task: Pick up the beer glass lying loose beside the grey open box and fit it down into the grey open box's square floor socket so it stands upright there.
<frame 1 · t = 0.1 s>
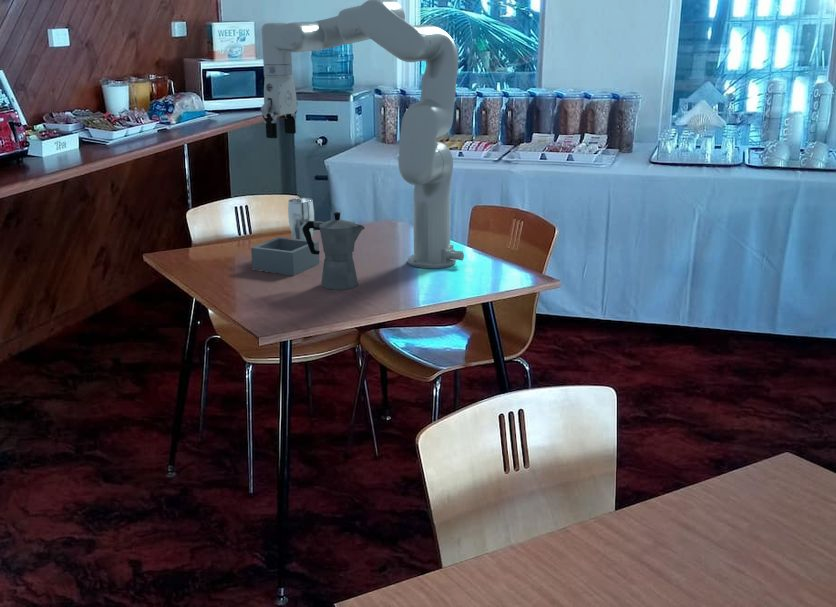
hand: (281, 135, 250), 31 cm above the table, fingers open, 9 cm apart
coffeepot: (335, 285, 223), on the table
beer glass: (303, 254, 251), on the table
grey open box: (286, 267, 238), on the table
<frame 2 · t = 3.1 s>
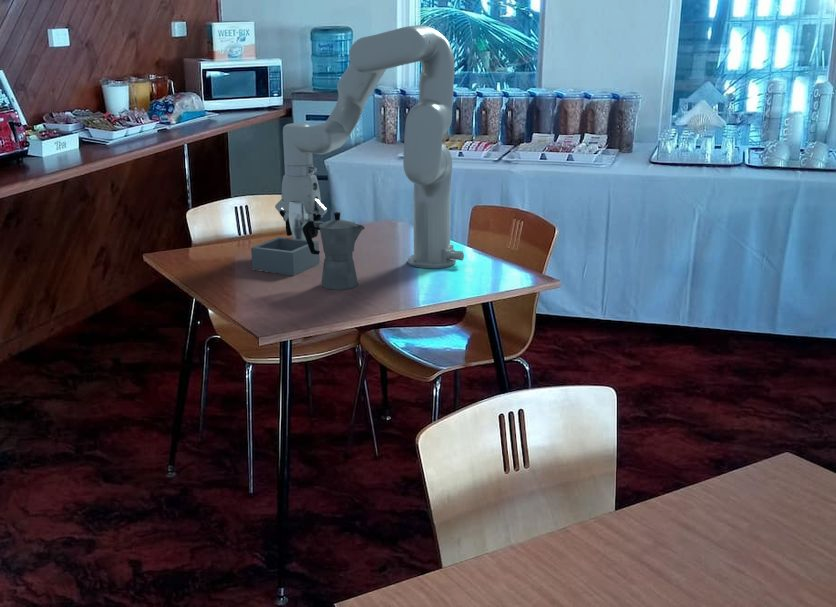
hand: (302, 235, 249), 5 cm above the table, fingers closed on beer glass, 6 cm apart
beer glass: (303, 254, 251), on the table, touching gripper
everything else where it was.
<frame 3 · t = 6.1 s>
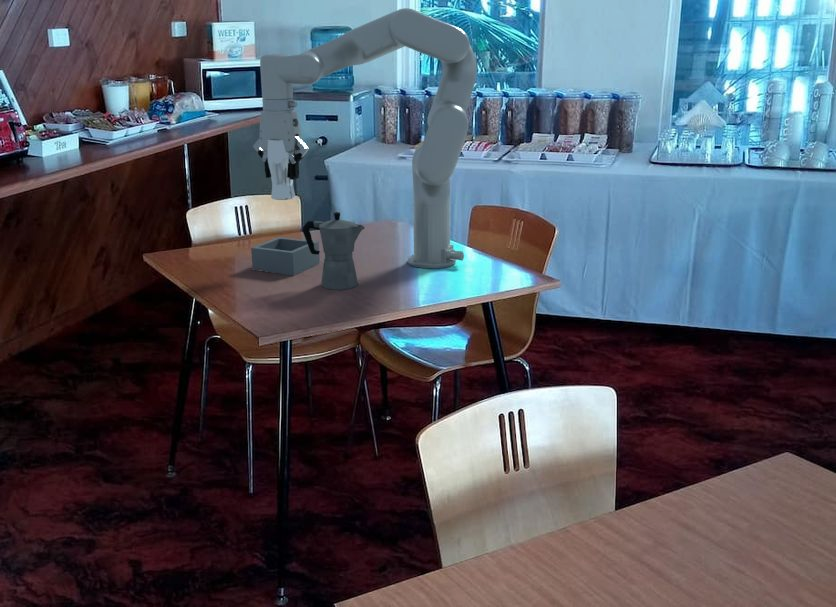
hand: (282, 177, 231), 24 cm above the table, fingers closed on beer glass, 6 cm apart
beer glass: (283, 198, 233), point 18 cm above the table, touching gripper
everything else where it was.
when the fingers open (9 cm above the table, at t = 9.5 s): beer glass drops 2 cm, resting on grey open box.
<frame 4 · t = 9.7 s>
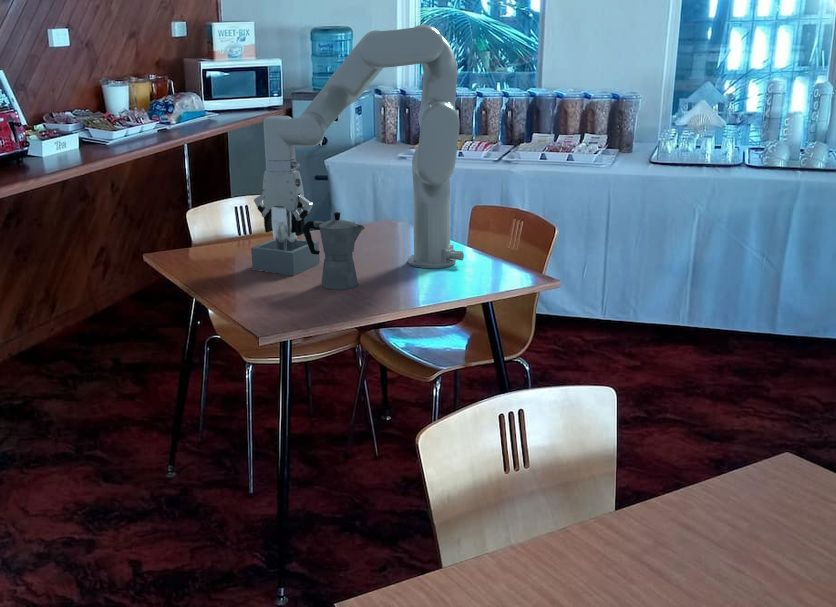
hand: (284, 232, 236), 9 cm above the table, fingers open, 8 cm apart
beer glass: (286, 262, 238), point 1 cm above the table, touching grey open box
everything else where it was.
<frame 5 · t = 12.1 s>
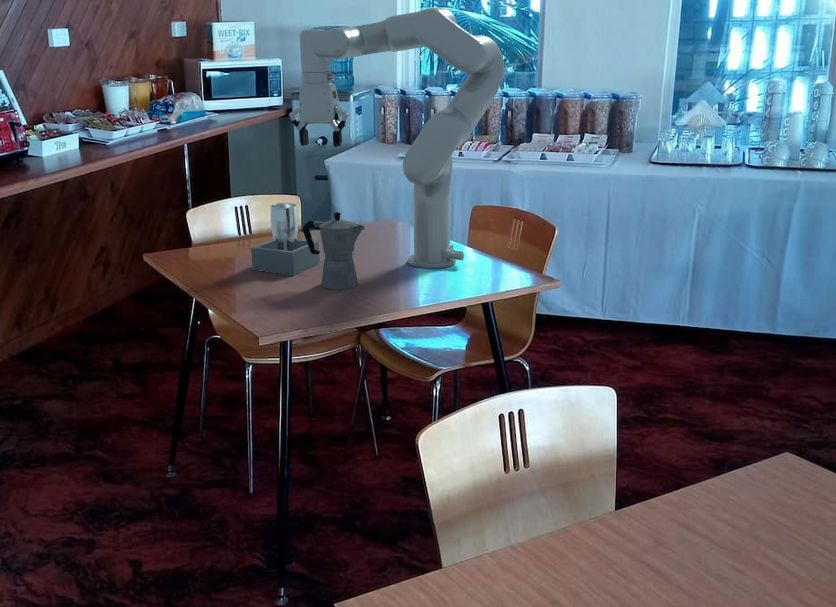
hand: (320, 145, 241), 30 cm above the table, fingers open, 9 cm apart
nothing on the table moved.
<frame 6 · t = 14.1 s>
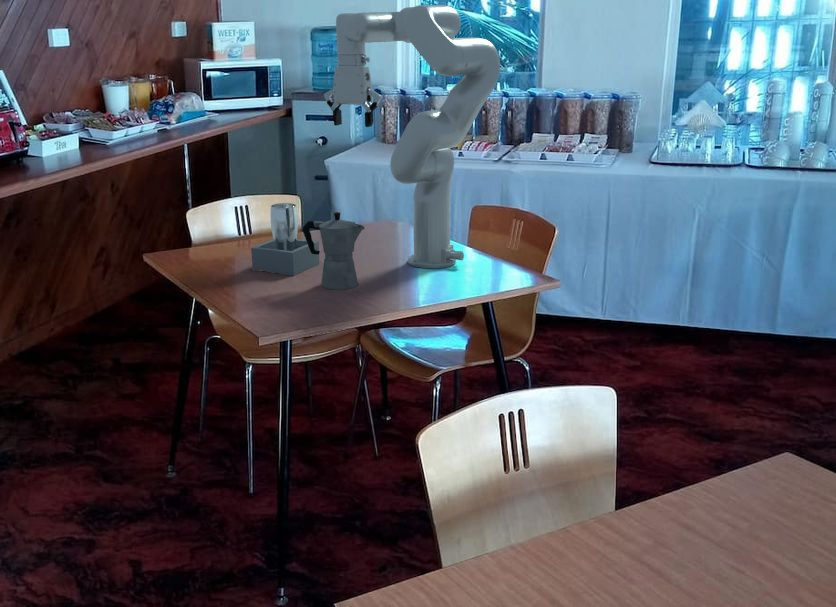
hand: (353, 125, 251), 33 cm above the table, fingers open, 9 cm apart
nothing on the table moved.
at the end: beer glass 0.1 cm off-centre on the grey open box, point 1.1 cm above the grey open box's base; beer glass tilted 0°; the gripper is holding nothing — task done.
